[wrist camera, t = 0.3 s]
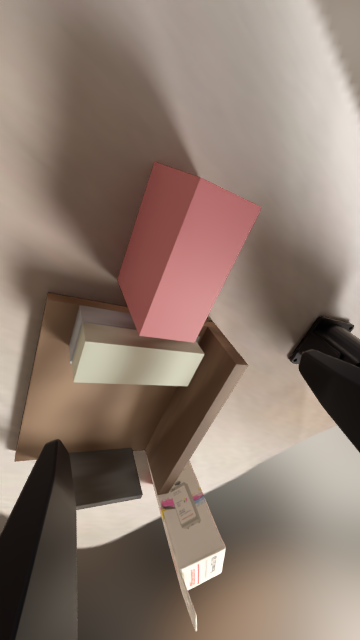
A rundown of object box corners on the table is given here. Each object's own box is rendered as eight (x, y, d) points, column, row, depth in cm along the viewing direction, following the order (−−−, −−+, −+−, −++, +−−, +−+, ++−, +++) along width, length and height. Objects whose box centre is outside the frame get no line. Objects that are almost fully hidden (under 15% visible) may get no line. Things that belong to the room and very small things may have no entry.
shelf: (213, 322, 25) (248, 365, 21) (152, 441, 32) (168, 493, 28) (47, 292, 19) (44, 347, 14) (15, 451, 26) (6, 522, 21)
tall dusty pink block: (201, 184, 18) (262, 207, 13) (160, 289, 22) (194, 342, 16) (154, 161, 17) (200, 177, 11) (117, 279, 20) (139, 335, 14)
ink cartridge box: (185, 471, 40) (237, 609, 28) (152, 485, 38) (192, 634, 27) (183, 438, 35) (244, 590, 23) (145, 453, 33) (189, 620, 22)
